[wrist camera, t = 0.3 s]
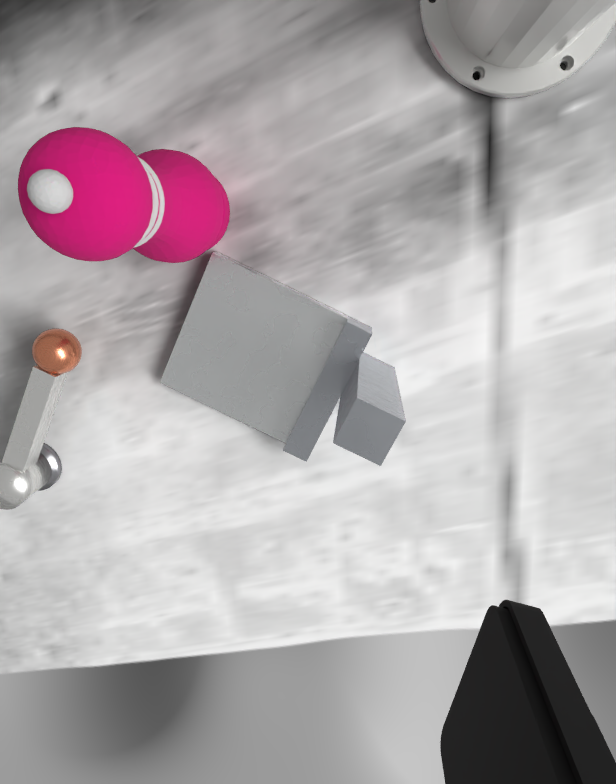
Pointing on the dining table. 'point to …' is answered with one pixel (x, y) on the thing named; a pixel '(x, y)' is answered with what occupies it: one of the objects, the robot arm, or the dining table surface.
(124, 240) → the pepper mill
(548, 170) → the dining table surface
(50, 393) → the lever
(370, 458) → the press bed
